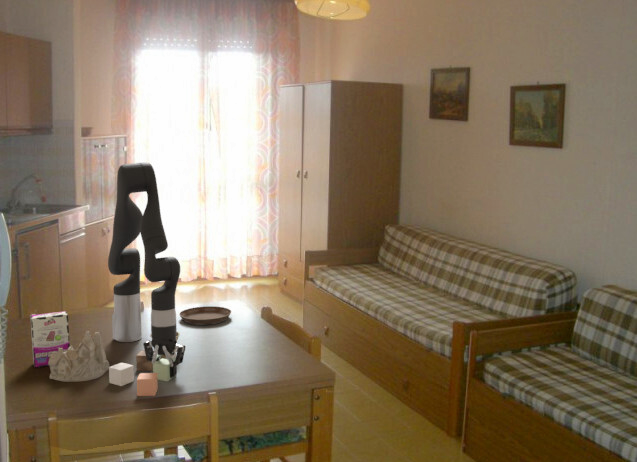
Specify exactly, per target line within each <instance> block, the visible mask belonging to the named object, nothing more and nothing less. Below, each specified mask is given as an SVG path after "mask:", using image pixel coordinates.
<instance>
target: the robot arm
mask: <svg viewBox="0 0 637 462" xmlns="http://www.w3.org/2000/svg"><path fill="white" fill-rule="evenodd" d="M116 179H117V180H116V204H115V211H114V216H113V224H112V225H113V227H112V239H111V244H110V248H109V252H108V259H107V267H108V271H109V273H111V275H113V276H120V275H121V276H122V275H129V276H128V277H127V278H126V279H124V280H122V281H121V282H120V281H119V282H118V283H116V284H115V285H114V286H113V307H114V308H113V310H114V311H113V313H112V315H111V319H112V320H111V321H112V324H111V325H112V340H115V341H116V342H120V343H131V342H136V341H139V340H141V339H142V306H141V253H140V251H139V249H137V248H134V247H133V248H130V247H129V248H127V247H128V246H129V245H131V244H132V243H134V241H136V239H137V238H138V237H139V235H140V236H141V240H142V244H143V248H144V267H143V272H144V273H143V274H144V276H145V278H146V280H148V282H151V283H157V282H164V283H163V284H162V285H161V286H159V287H157V288H155V289H153V290H152V291H151V294H150V301H151V302H150V304H151V306H150V307H151V310H150V335H151V337H152V338H151V337H150V338H151V340H146V341H145V342H143V344H142V345H143V348H144V350H145V354H146V358H147V361H151V362H152V363H155V362H156V361H158V360H160V357H161V355H165V356H166V358H167V360H168V361H169V364H170V378H172V379H174V378H175V377H176V376H177V374H178V373H177V366H179V365H180V364H183V361H184V356H185V351H186V345H185V344H182V345H180V344H178V341H177V342H176V336H177V332H178V331H177V312H176V291H177V286H178V282H179V279H180V274H181V263H180V261H179V259H177V257H174V256H165V257H156V255H157V254H160V253H162V252H164V251H166V250H167V249H168V247H169V246H168V245H169V244H168V240H167V235H166V231H165V228H164V225H163V220H162V213H161V206H160V198H159V192H158V185H157V178H156V172H155V170H154V167H153V165H152V164H151V163H150V162H145V161H144V162H134V163H133V162H131V163H124V164H120V165H119V167H118V170H117V178H116ZM143 192H146V195H147V202H146V205H145V209H144V211H143V212H142V211H141V209H140V208H139V207H138V205H137V204H136V203H135V202H134V201H133V200H132V198H131V197H130V195H131V194H135V193H143ZM175 348H176V353H175ZM154 349H155V350H154ZM153 351H154V352H153ZM170 354H171V356H170ZM175 375H176V376H175ZM173 377H174V378H173Z"/></svg>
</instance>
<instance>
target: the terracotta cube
mask: <svg viewBox="0 0 637 462" xmlns="http://www.w3.org/2000/svg"><path fill="white" fill-rule="evenodd" d="M158 381H159V380H158V379H157V373H153V372H140V373H139V374H138V376H137V379H136V395H137V397H147V396H149V397H150V396H156V394H157V391H158V389H159V388H158V387H159V385H158V384H159V383H158Z"/></svg>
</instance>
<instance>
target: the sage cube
mask: <svg viewBox="0 0 637 462" xmlns="http://www.w3.org/2000/svg"><path fill="white" fill-rule="evenodd" d="M152 373H157V379H158V381H163V382H169V381H171V380H173V379H174V378H175V377H177V374H176V375H175V377H173V378H170V364H169V361H168V360H167V359H163V358H162V359H160V360H158V361H156V362H155V363H153V371H152Z"/></svg>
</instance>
